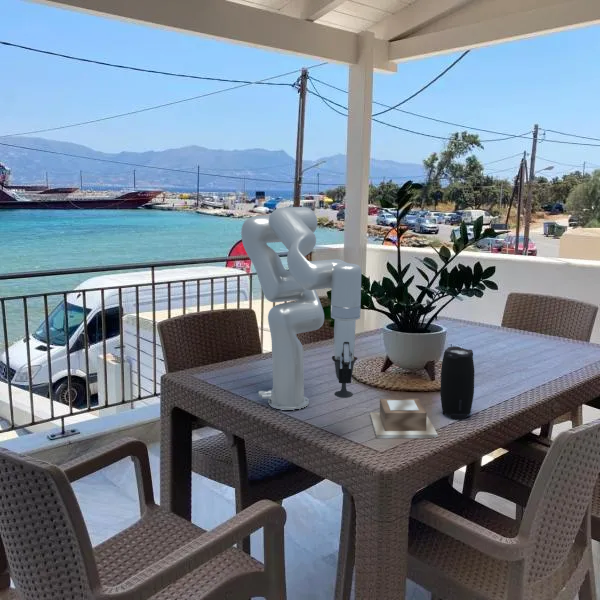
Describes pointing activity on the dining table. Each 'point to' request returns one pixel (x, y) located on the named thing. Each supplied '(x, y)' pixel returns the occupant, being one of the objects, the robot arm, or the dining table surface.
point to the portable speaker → (457, 382)
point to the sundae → (343, 392)
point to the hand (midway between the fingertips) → (344, 378)
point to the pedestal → (402, 420)
